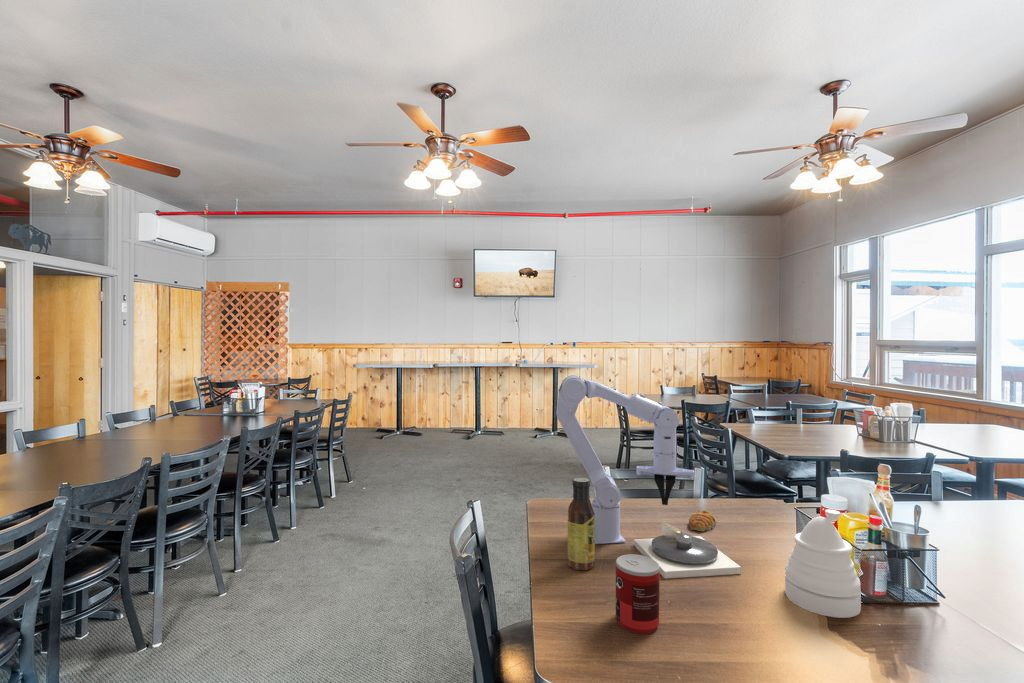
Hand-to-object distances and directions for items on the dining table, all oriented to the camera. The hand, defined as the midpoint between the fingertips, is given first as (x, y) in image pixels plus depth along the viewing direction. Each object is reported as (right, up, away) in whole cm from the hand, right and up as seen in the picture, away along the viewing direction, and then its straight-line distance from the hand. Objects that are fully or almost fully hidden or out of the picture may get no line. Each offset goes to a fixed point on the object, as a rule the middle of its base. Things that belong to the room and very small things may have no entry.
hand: (664, 503), depth 129 cm
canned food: (-17, -9, -39) cm, 43 cm away
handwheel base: (+1, -9, -11) cm, 15 cm away
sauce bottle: (-24, -10, -15) cm, 30 cm away
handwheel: (+1, -7, -11) cm, 14 cm away
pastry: (+14, -10, +10) cm, 19 cm away
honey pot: (+22, -10, -30) cm, 39 cm away
